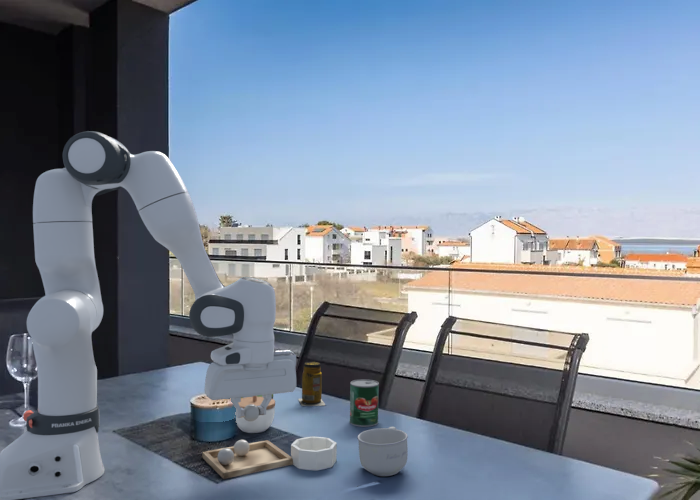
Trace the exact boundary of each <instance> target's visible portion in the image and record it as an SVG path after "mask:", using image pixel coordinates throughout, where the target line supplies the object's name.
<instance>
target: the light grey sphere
mask: <svg viewBox="0 0 700 500" xmlns="http://www.w3.org/2000/svg"><path fill="white" fill-rule="evenodd" d="M244 409H245V413H244V414H245V417H244V419H245V420H247V421H254V420H256V419H257V418H258V416H259V409H258V407H257V406H256V405H253V404H249V405H247V406H246V407H245V408H244Z"/></svg>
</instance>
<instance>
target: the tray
mask: <svg viewBox="0 0 700 500" xmlns="http://www.w3.org/2000/svg"><path fill="white" fill-rule="evenodd" d="M248 443H249V442H248ZM249 446H250V449H249V452H248V453H247V454H246V455H244V456H238V455H236V454H235V452H234V445H233V446H229V447H226V448H229V449H231V450H232V451H233V453H234V460H233V462H232V463H231V464H229V465H221V464H220V463H219V462H218V459H217V456H218V453H219V451H220V450H222V449H224V448H225V447H221V448H215V449H211V450H206V451H205V450H204V451H202V452H201V454H202V455H201V457H202V459H203V460H204V461H205V462H206V463H207V464H208V465H209V466H210V467H211V468H212V470H214V471H215V472H216V473H217V475H219V476H220V477H221V478H222V479H223V480H226V479H231V478H234V477H235V478H236V477H240V476H244V475H248V474H254V473H260V472H263V471H267V470H273V469H279V468H282V467H283V468H284V467H288V466H291V465H293V459H292V458H291V455H289V454H288V453H286V452H285V451H284V450H283V449H281V448H279V447H278V446H277V445H276V444H274V443H272V442H271V441H270V440H268V439H266V440H260V441H256V442H250V443H249ZM293 466H294V465H293Z"/></svg>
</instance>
